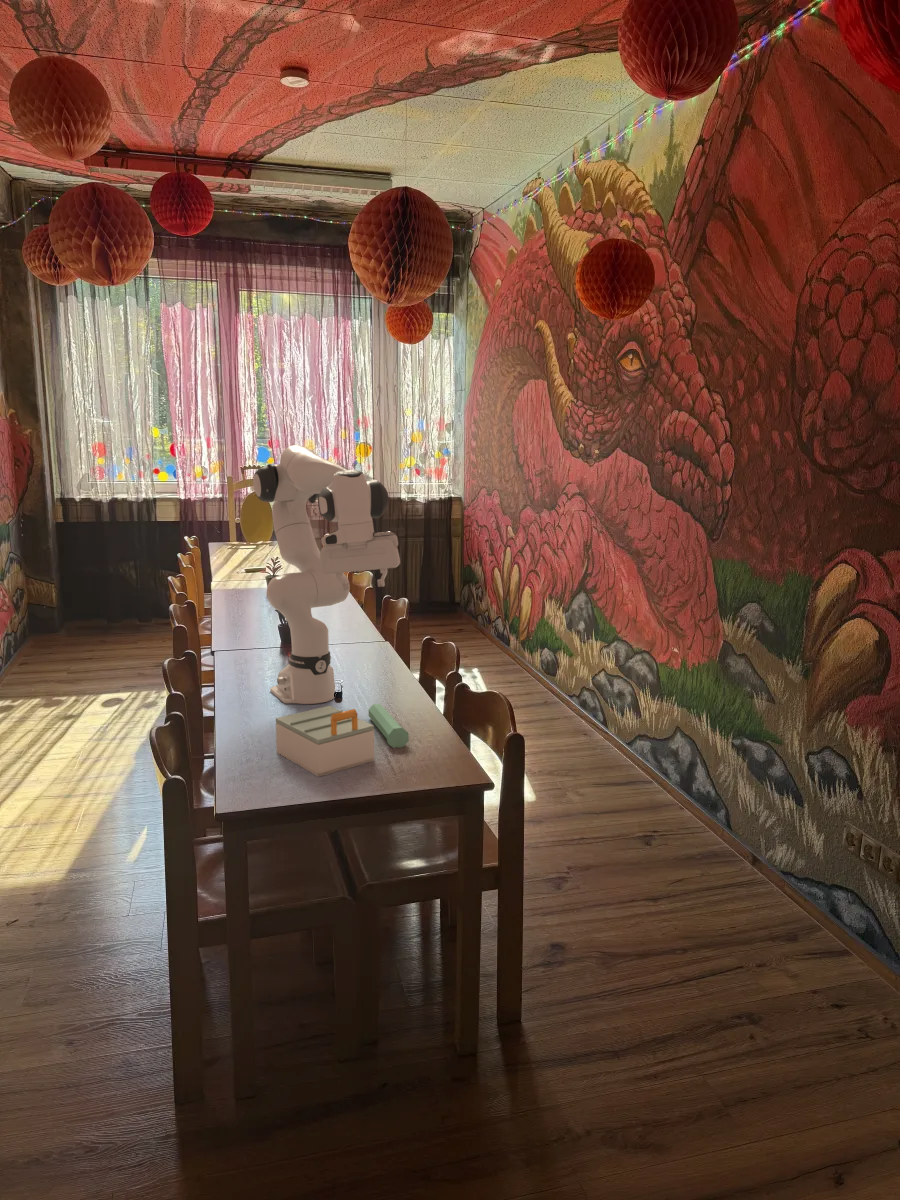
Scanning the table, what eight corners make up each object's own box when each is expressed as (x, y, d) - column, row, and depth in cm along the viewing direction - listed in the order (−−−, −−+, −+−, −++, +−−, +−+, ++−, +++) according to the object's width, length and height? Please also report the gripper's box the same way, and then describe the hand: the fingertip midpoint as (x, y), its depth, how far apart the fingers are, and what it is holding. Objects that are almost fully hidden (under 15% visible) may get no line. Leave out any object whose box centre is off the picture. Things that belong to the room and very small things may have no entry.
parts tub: (276, 752, 219) (275, 722, 217) (330, 738, 229) (329, 709, 227) (318, 776, 204) (318, 744, 202) (374, 760, 214) (374, 730, 212)
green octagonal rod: (369, 697, 245) (392, 724, 221) (388, 703, 247) (412, 730, 224) (361, 717, 245) (383, 745, 222) (380, 722, 247) (404, 751, 224)
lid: (275, 721, 217) (275, 699, 216) (329, 709, 227) (329, 687, 226) (318, 744, 202) (317, 719, 201) (373, 729, 212) (373, 706, 211)
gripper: (399, 529, 219) (405, 582, 222) (321, 537, 223) (328, 589, 225) (394, 531, 213) (401, 586, 215) (314, 539, 216) (322, 593, 219)
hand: (363, 588), depth 220 cm, fingers open, 8 cm apart
